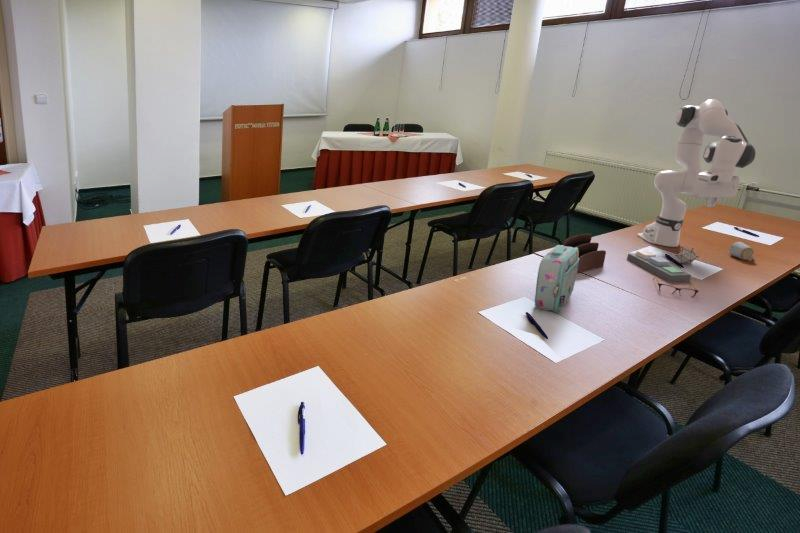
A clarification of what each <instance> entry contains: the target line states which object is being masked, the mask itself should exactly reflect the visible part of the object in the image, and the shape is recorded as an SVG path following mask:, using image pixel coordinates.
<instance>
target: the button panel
mask: <svg viewBox="0 0 800 533" xmlns="http://www.w3.org/2000/svg"><path fill="white" fill-rule="evenodd" d="M626 260H628V261H629V262H632V263H634V264H636V265H638V266H639V267H640V268H643V269H645V270H647V271H649V272H650V273H652V274H653V275H656V276H658V277H659V278H661V279H663V280H665V281H667V282H669V283H670V282H671V283H673V282H690V281H691V279H692V278H691V277H692V274H691V273H688V272H687V271H685V270H683V269H681V268H679V267H676V266H675V265H673V264H670V263H669V266H656V265H654V264H652V263H650V262H648V260H649V259H642V258H640V257H639V256H637V255H636V252H629V253H628V254H627V258H626ZM662 267H674V268H676V269H679V270H681V271H683V273H670V272H668V271H666V270H664V269H662Z"/></svg>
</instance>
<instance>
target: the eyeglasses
mask: <svg viewBox="0 0 800 533" xmlns="http://www.w3.org/2000/svg"><path fill="white" fill-rule="evenodd" d="M654 280H656V282H657V285H658V290H659V292H660V291H661V286H668V287H672V288H674V291H673V292H672V293H671V295H673V294H674V293H676V292H677V291H678V292H679V296H682V295H681V290H686V288H683V287H682V288H679V287H676V286H673V285H670V284H664V283H660V282H659V279H658V278H657V276H654V277H653V279H652V281H654ZM692 285H693V286H692ZM691 286H692V287H694V289H692V288H687V290H690V291H694V294H693V295H692V296H691V298H694V297H695V296H696V295H697V294H698V293H699V290H698V288H697V287H696V285H695V283H694V282H691V283H690V284H689V286H688V287H691Z"/></svg>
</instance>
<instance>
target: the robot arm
mask: <svg viewBox="0 0 800 533" xmlns="http://www.w3.org/2000/svg"><path fill="white" fill-rule="evenodd" d="M675 120H676V125H677V126H678V127H681V128H683V129H682V131H681V133H680V135H679V137H678V142H677V145H676V150H675V155H674V160H675V162H676V163H677V164H678V165H680V166H682V167H683V169H684V171H679V170H661V171H659V172H657V174H656V175H655V176H654V179H653V185H654V188H655V189H656V190H657V191H658V192H659V193H660V195H661V197H662V198H661V199H662V206H661V210H660V215H656V216H655V219H656V220H655V221H654V222H651V223H650V224H647V225H645V227H644V228H643V230H642V232H638V233H637V234H636V235H637V236H638V237H640V238H641V239H643V240H645V241H646V242H648V243H649V244H654V245H659V246H664V247H674V248H675V247H679V244H680V235H681V228H682V227H683V225H684V217H685V214H686V211H687V210H686V209H687V204H686V202H684V201H683V200H681V198H678V194H684V195H685V194H686V195H692V197H696V198H705V201H706V204H705V207H706V208H715V206H716V204H717V203H718V202H719V200H720V198H735V197H736V196H737V194H738V190H739V186H740V184H739V182H740V178H739V176H737V175H734V174H735V171H736V168H741V169H744V168H745V167H748V166H749V165H751V164H752V163H753V162H754V160H755V158H756V150H755V147H754V146H753V145H752V144H751V143H750V142H749V140H748V139H747V136H745V134H744V132H743V130H742V128H741V127H740V126H739V125H738V124H737V123H736V122H734V121H733V120H732V119H731V118H730V117H729V113H728V109H726V108H725V107H724V105H723V103H721V101H719V100H718V99H715V98H711V99H706V100H705V101H703V102H702V103H701V104H699V105H690V104H689V105H684V106H682V107H681V108H679V110H678V112H677V114H676V117H675ZM705 135H706V136H711V137H716V138H720V140H718V141H717V140H716V141H713V142H710V143H709V144H708V145H707V146H706V147H705V149H704V152H703V156H702V158H703V160H704V161H705V162H706V163H707V164H710V165H711V166H710V168H709V169H707V170H705V171H703V169H702V168H701V161H700V160H701V152H702V148H703V143H704V138H705Z"/></svg>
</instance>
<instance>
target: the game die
mask: <svg viewBox="0 0 800 533" xmlns="http://www.w3.org/2000/svg"><path fill="white" fill-rule="evenodd" d="M681 248H682V249H681V250H680V251H679V253H678V254H675V255H674V256H675V257H677V259H678V260H679V262H680V263H681V264H680V265H682V264H688V265H690V266H691V265H693V264H692V263H694V261H695V260H696V259H697V258H699V256H697V255H696V253H695V252H694V248H684V247H683V246H682V247H681Z"/></svg>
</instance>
